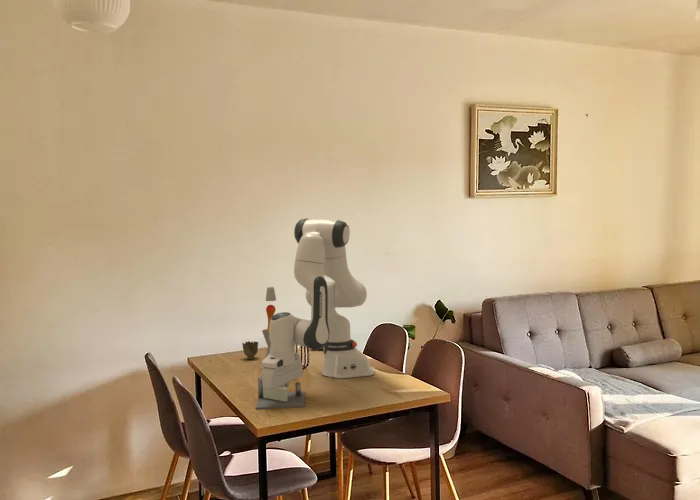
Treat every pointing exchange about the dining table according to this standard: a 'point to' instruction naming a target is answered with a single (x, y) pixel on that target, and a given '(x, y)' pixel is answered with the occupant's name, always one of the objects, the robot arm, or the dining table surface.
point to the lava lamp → (269, 316)
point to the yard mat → (282, 402)
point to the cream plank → (276, 393)
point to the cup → (250, 349)
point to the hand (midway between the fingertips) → (284, 395)
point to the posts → (260, 388)
